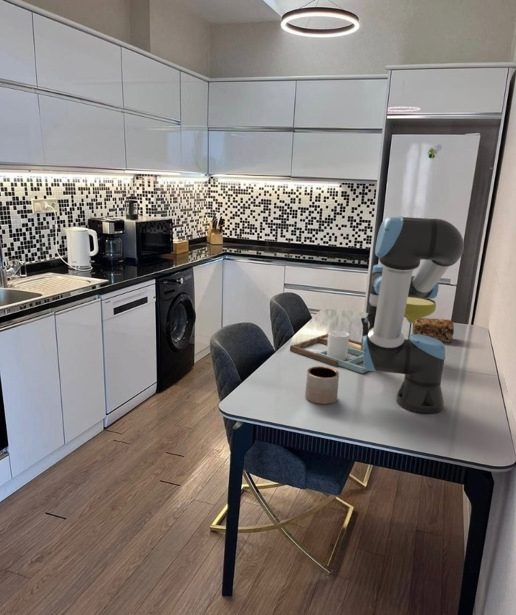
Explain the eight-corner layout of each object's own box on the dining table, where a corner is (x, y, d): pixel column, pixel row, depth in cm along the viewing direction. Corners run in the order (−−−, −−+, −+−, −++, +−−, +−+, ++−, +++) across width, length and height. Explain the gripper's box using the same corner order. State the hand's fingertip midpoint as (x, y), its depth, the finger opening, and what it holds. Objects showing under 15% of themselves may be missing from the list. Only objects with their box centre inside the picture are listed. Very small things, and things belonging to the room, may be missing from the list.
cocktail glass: (404, 365, 197) (411, 306, 190) (377, 350, 212) (383, 296, 206) (437, 360, 204) (445, 303, 198) (408, 346, 220) (415, 294, 214)
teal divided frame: (362, 373, 185) (365, 344, 182) (316, 357, 200) (318, 330, 197) (384, 363, 197) (387, 335, 194) (339, 348, 212) (342, 323, 209)
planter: (329, 408, 155) (331, 381, 153) (299, 399, 161) (301, 373, 158) (341, 396, 164) (344, 371, 162) (313, 388, 170) (315, 363, 167)
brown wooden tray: (335, 366, 192) (335, 361, 191) (289, 350, 208) (290, 345, 207) (372, 350, 212) (373, 346, 212) (328, 337, 228) (329, 333, 228)
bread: (450, 337, 237) (453, 318, 234) (452, 344, 227) (455, 324, 224) (411, 333, 242) (413, 314, 239) (411, 339, 232) (414, 319, 229)
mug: (353, 355, 205) (356, 331, 203) (341, 362, 196) (343, 338, 193) (336, 350, 210) (338, 327, 207) (322, 357, 201) (324, 333, 198)
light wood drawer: (362, 354, 206) (364, 328, 203) (320, 341, 221) (322, 317, 218) (370, 350, 211) (373, 325, 208) (329, 338, 226) (331, 314, 223)
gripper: (401, 306, 183) (394, 364, 189) (367, 299, 193) (361, 354, 199) (391, 309, 178) (384, 368, 183) (357, 302, 187) (351, 358, 193)
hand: (372, 361), depth 191 cm, fingers closed on teal divided frame, 2 cm apart
